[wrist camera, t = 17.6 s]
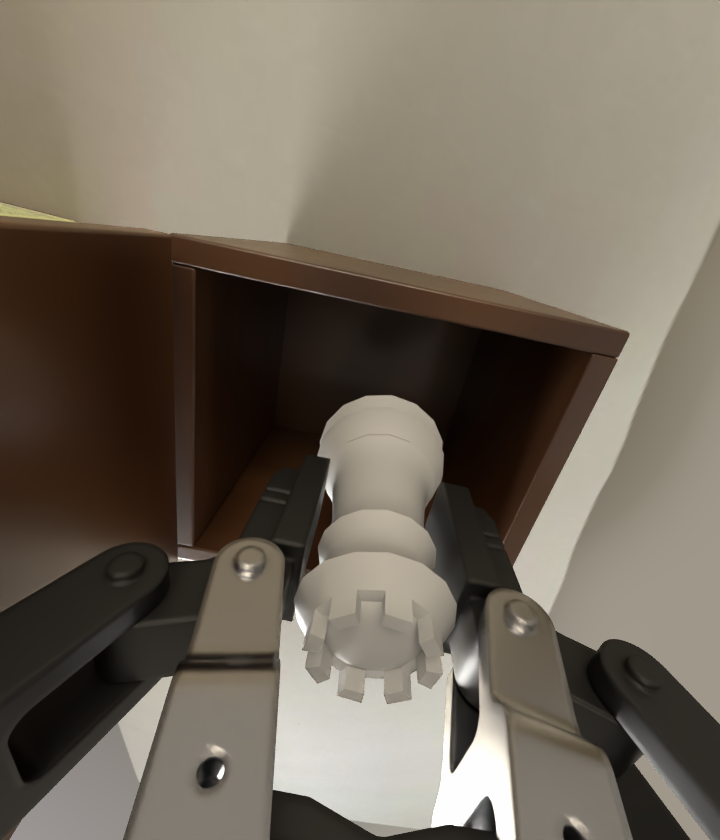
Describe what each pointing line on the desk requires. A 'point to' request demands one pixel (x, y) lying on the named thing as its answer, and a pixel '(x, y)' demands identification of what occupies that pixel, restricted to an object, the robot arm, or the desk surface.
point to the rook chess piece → (377, 554)
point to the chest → (366, 378)
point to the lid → (83, 397)
